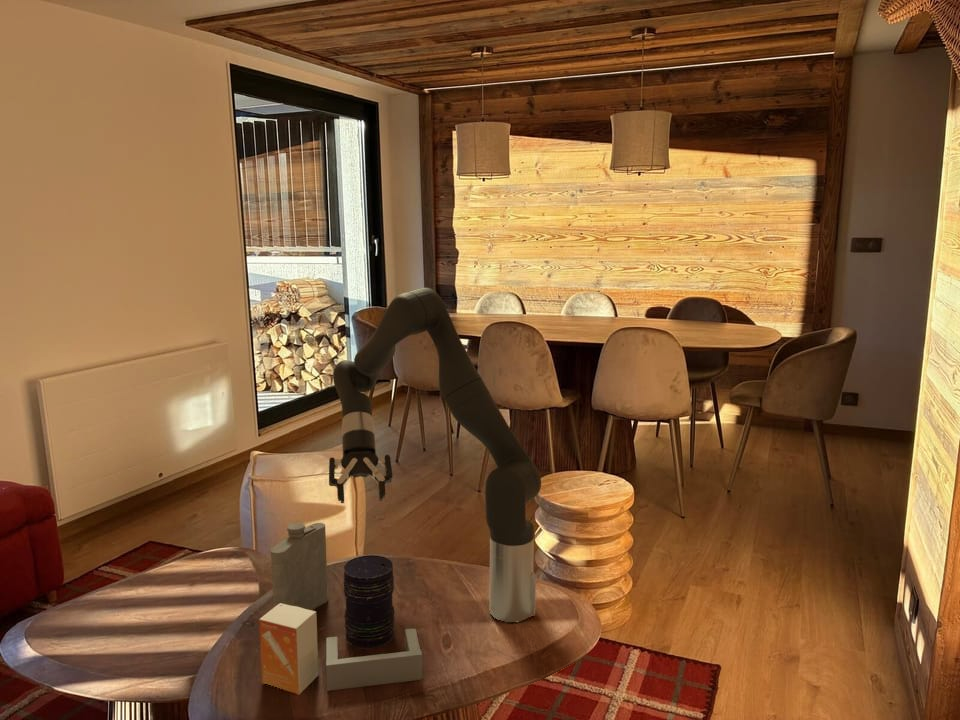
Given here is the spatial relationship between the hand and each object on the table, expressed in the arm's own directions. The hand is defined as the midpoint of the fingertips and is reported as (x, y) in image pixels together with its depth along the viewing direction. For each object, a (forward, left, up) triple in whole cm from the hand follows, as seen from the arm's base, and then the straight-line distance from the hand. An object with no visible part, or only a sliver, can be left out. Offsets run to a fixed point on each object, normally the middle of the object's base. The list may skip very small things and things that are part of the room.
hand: (362, 500), depth 162 cm
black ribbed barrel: (0, +19, -21) cm, 29 cm away
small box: (+15, +31, -21) cm, 41 cm away
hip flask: (+14, +8, -21) cm, 27 cm away
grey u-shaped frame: (0, +31, -21) cm, 37 cm away
